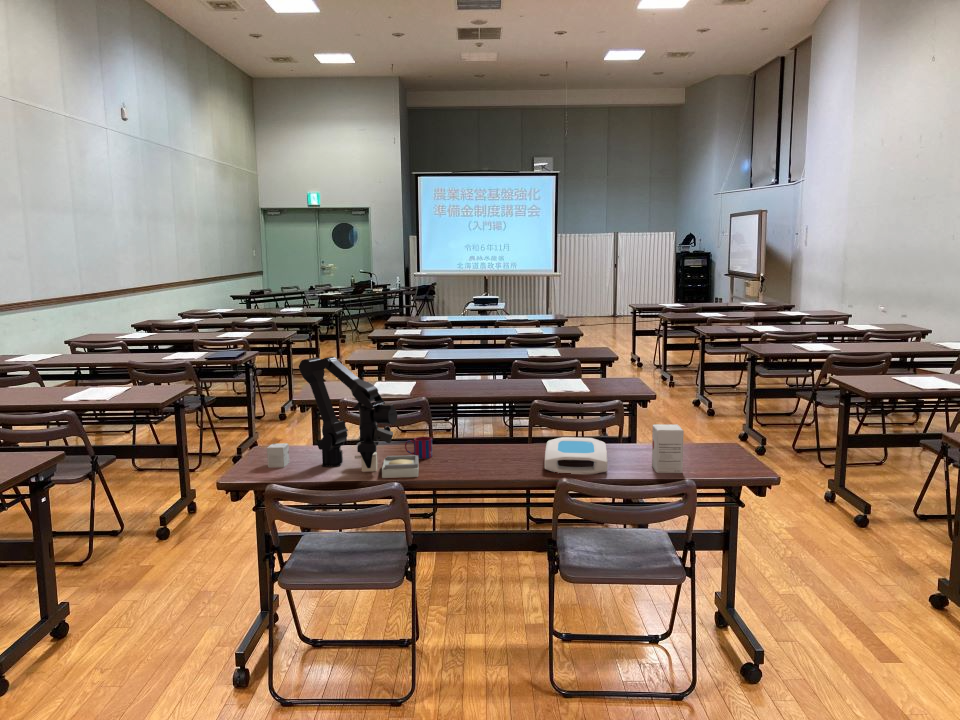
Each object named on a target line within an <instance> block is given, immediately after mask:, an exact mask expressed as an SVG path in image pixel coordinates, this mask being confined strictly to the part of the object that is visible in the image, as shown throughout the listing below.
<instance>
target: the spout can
mask: <svg viewBox="0 0 960 720" xmlns="http://www.w3.org/2000/svg"><path fill="white" fill-rule="evenodd" d="M356 459H360V460H361V472H363V473H364V472H377V470H378V452H377V451H376V452H374V453H373V455H372V462H371V468H367V466H366V464H365V462H364V460H363V458H362V456H361V455H354V460H356Z"/></svg>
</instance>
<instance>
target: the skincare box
mask: <svg viewBox="0 0 960 720" xmlns="http://www.w3.org/2000/svg"><path fill="white" fill-rule="evenodd" d="M289 449H290V448H289V443H286V442H285V443H271V444H270V445H269V446H267V447H266V454H267V456H266V457H267V468H272V469H273V468H286V467H287V466H288V465H289V464H290V452H289V451H290V450H289ZM288 463H289V464H288Z"/></svg>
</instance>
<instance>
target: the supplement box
mask: <svg viewBox="0 0 960 720" xmlns="http://www.w3.org/2000/svg"><path fill="white" fill-rule="evenodd" d="M684 433H685V431H684V429H682V427H681V426H680V425H679V424H677V423H676V424H675V423H674V424H661V423H660V424H652V440H651V441H652V443H651V447H652V448H651V467H652V468H653V470H654V471H655V473H657V474H683V471H684V470H683V467H684V466H683V464H684V463H683V462H684V437H685V436H684V435H685V434H684Z"/></svg>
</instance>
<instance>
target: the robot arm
mask: <svg viewBox="0 0 960 720" xmlns="http://www.w3.org/2000/svg"><path fill="white" fill-rule="evenodd" d="M298 370H299V372H300V374H301V376H302V378H303V379H304V380H305V382H307V383H308V384H309V387H310V389H311V391H312V395H313V398H314V400H315V402H316V406H317V408H318V411H319V414H320V417H321V420H322V427H321V428H322V429H321V433H322V438H321V439H320V440H319V441H318V442H317V447H318V450H321V454H322V455H321V456H322V457H321V458H322V459H321V460H322V464H321V467H340V466H342V465H341V464H343V462H344V461H343V459H344V456H343V454H344V451H343V450H342V449H341V448H342V446H344V445H345V442H346V440H347V438H348V431H349V429H348V428H347V426H346V422H345V420H341V419H339V418H337V415H336V412H335V409H334V407H333V404H332V401H331V398H330V395H329V392H328V390H327V387H326V384H325V380H324V377H325V370H327V371H328V372H330V373H331V374H332V375H333V376H334V377H335V378H336V379H338V380H339V381H340V382H341V383H342V384H344V386H346V387H347V388H348V389H349V390H350V393H351V394H352V396H353V397H354V399H355V400H356V401H357V404H356V405H354V406H353V409H354V410H358V411H359V426H358V428H359V436H360V437H359V443H358V444H357V446H356V447H357V453H359V454H360V456H362V458H363V460H364V462H365V464H366V466H367V468H371V462H372V455H373V453H374V452H377V450H378V449H377V446H379V442H378V441H382V442H385V443H386V444H391V442H392V439H393V436H394V432H393V431H392V430H391V427H390V426H387V425H394V424H395V423H396V422H397V420H398V412H397V409H396V408H394V404H393V403H390V404H386V402H385V401H384V399H383V397H382V396H381V394H380V393H379V389H378V387H376V386H375V385H374V384H372V383H370V382H368V381H365V380H363V379H361V378H360V377H358V376H357V375H356V374H355V373H354V372H353V371H351V370H350V369H348V368H347V367H346V366H345V365H344V364H342V363H341V362H340V361H339V360H338V358H337V357H335V356H328V357H324V358H319V357H311V358H305V359H302V360H301V361H300V362H299V364H298ZM379 424H382V425H383V424H384V425H386V426H384V427H382V428H381V427H379Z"/></svg>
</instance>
